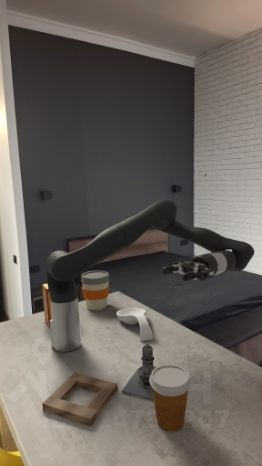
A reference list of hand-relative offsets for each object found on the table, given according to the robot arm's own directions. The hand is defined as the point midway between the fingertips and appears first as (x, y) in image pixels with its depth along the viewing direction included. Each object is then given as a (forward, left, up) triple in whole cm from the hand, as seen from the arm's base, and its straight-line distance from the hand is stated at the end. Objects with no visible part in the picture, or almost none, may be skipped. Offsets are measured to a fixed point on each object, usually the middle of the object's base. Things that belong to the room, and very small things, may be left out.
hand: (173, 274), depth 96 cm
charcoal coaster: (-3, -14, -28) cm, 32 cm away
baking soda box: (-52, +11, -28) cm, 60 cm away
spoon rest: (-20, +17, -28) cm, 39 cm away
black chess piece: (-3, -14, -28) cm, 31 cm away
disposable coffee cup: (+7, -25, -28) cm, 38 cm away
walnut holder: (-17, -26, -28) cm, 42 cm away
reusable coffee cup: (-45, +30, -28) cm, 61 cm away
